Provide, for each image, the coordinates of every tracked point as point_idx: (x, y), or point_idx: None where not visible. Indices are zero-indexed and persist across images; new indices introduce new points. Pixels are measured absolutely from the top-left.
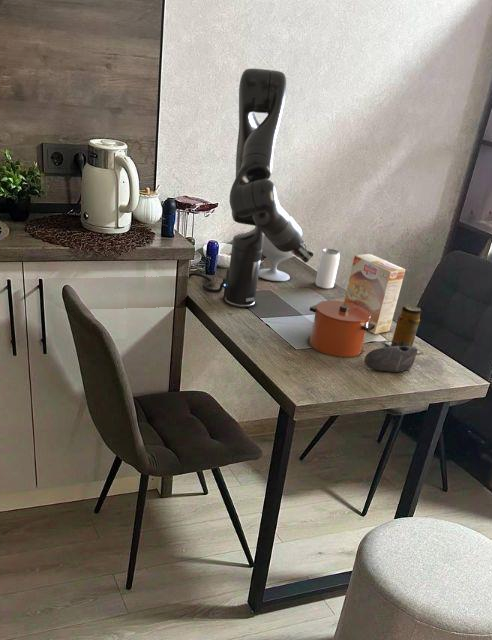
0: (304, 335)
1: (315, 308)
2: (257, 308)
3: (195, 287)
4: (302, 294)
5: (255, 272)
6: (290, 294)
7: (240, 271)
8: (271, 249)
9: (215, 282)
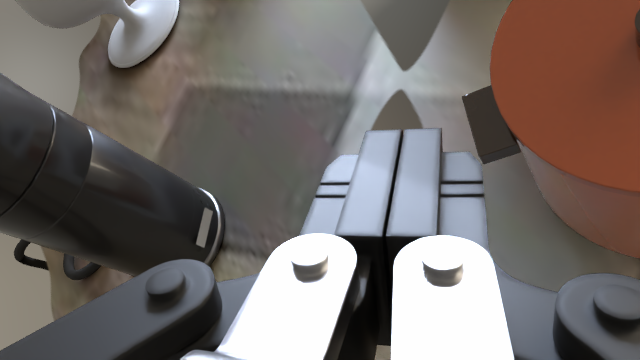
0: (501, 204)
1: (505, 139)
2: (242, 211)
3: (60, 292)
4: (252, 9)
5: (128, 181)
6: (234, 43)
7: (91, 240)
8: (74, 3)
9: None
